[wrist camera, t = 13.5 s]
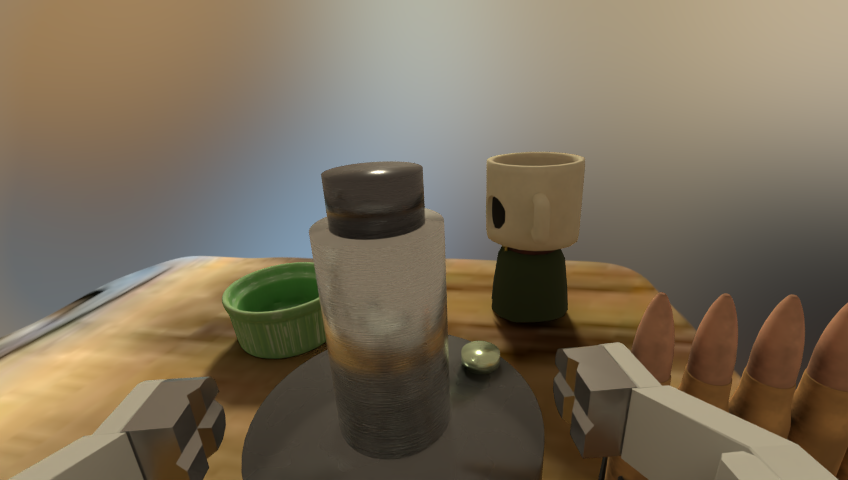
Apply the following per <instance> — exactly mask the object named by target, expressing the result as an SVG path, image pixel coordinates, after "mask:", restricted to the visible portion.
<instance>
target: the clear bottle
mask: <svg viewBox="0 0 848 480" xmlns="http://www.w3.org/2000/svg"><path fill="white" fill-rule="evenodd" d="M321 177H322V183H323V191H324V198H325V205H326V213H327V217H325V218H323V219H321V220H319V221H317V222H316V223H315V224H313V225H312V226H311V228H310V230H309V235H310V242H311V248H312V254H313V261H314V267H315V273H316V280H317V286H318V292H319V299H320V305H321V311H322V318H323V324H324V330H325V337H326V343H327V350H328V356H329V362H330V369H331V375H332V381H333V388H334V394H335V400H336V407H337V413H338V419H339V426H340V430H341V434H342V436H343V438H344V439H345V441H346V442H347V443H348V444H349V445H350V446H351V447H352V448H353V449H354V450H356V451H357V452H359V453H361V454H363V455H366V456H369V457H372V458H377V459H400V458H405V457H409V456H412V455H415V454H418V453H420V452H422V451H424V450H426V449H427V448H429V447H430V446H432V445H433V444H434V443H435V442H436V441H438V439H439V438H440V437H441V436H442V435H443V433H444V432H445V430H446V428H447V426H448V424H449V420H450V414H451V410H450V381H449V352H448V323H447V294H446V265H445V239H444V238H445V236H444V219H443V217H442V216H441V215H440V214H439V213H437V212H435V211H432V210H429V209H426V208H425V206H424V187H423V168H422V166H421V165H419V164H415V163H409V162H370V163H359V164H351V165H346V166H341V167H336V168H332V169H329V170H326V171H324V172H323V173H322V174H321Z"/></svg>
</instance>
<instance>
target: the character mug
mask: <svg viewBox="0 0 848 480" xmlns="http://www.w3.org/2000/svg"><path fill="white" fill-rule="evenodd" d="M584 171H585V158H584V157H581V156H578V155H573V154H566V153H555V152H525V153H512V154H504V155H498V156H494V157H491V158H489V159H487V197H486V227H487V228H486V230H487V235H488V238H489V239H491V240H492V241H494V242H496V243H498V244H501V245H502V247H501V249H500V251H499V252H498V257H497V263H496V269H495V275H494V281H493V291H492V299H493V300H492V309H493V310H494V311H495V312H496V313H497V314H498V315H499V316H500V317H502V318H505V319H507V320H510V321H512V322H541V321H551V320H554V319H557V318H560V317H563V316H564V314H565V313H566V311H567V310H568V301H567V279H566V266H565V257H564V255H563V253H562V251H561V248H566V247H569V246H571V245H572V244H574V243H575V242H577V240H578V236H579V227H580V217H581V205H582V193H583V183H584Z"/></svg>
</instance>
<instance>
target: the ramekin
mask: <svg viewBox="0 0 848 480" xmlns="http://www.w3.org/2000/svg"><path fill="white" fill-rule="evenodd" d="M222 303H223V306H224V308H225V310H226V311H227V313H228V314H229V316H230V318H231V321H232V324H233V327H234V330H235V333H236V336H237V339H238V341H239V344H240V345H241V347H242V349H244V350H245V351H246V352H247V353H249V354H251V355H253V356H255V357H260V358H268V359H279V358H288V357H293V356H297V355H300V354H303V353H306V352H308V351H311V350H313V349H315V348H317V347H319V346H320V345H322V344H324V343H325V342H326V337H325V330H324V324H323V318H322V311H321V305H320V299H319V292H318V286H317V280H316V273H315V267H314V263H311V262H297V263H287V264H280V265H276V266H271V267H268V268H264V269H261V270H258V271H255V272H253V273H250V274H248V275H246V276H244V277H242V278H240V279H238V280H237V281H235V282H234V283H232V284H231V285H230V286H229V287H228V288H227V289H226V290H225V292H224V294H223V296H222Z"/></svg>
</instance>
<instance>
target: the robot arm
mask: <svg viewBox="0 0 848 480" xmlns="http://www.w3.org/2000/svg"><path fill="white" fill-rule="evenodd" d="M555 364H556V366H557V367H558V369H559V371H560V372H559V373H558V374H557V375H556V377H555V378H554V386H553V391H554V398H555V403H556V406H557V409H558V412H559V414H560V416H561V418H562V419H563V420H564V421H566V422H567V423H569V424H570V425H571V430H570V435H571V437H572V439H573V441H574V443H575V444H576V446H577V448H578V450H579V452H580V454H581V456H582V458H598V457H613V456H621V458H622V459H623V460H624V461H625V462H627V463H628V464H629V465H631V466H632V467H633V468H634V469H636V470H637V471H638V472H639V473H641V474H642V475H643V476H644V477H646V478H647V479H648V480H838V479H837V478H836V477H835V476H834V475H832V474H831V473H830V472H829V471H828V470H827V469H825V468H824V467H823V466H822V465H821V464H820V463H819V462H817V461H816V460H815V459H814V458H813V457H812V456H810V455H809V454H808V453H807V452H806V451H805V450H804V449H802V448H801V447H800V446H799V445H798V444H796V443H793V442H791V441H789V440H787V439H785V438H782V437H780V436H778V435H776V434H774V433H772V432H769V431H767V430H765V429H763V428H761V427H759V426H756V425H754V424H752V423H750V422H748V421H745V420H743V419H741V418H739V417H737V416H735V415H732V414H730V413H728V412H726V411H724V410H722V409H719V408H717V407H715V406H713V405H711V404H708V403H706V402H704V401H702V400H700V399H698V398H695V397H693V396H691V395H689V394H687V393H685V392H682V391H680V390H678V389H676V388H674V387H671V386H669V385H666V386H662V385H661V384H660V383H659V382H658V381H657V380H656V379H655V378H654V376H653V375H652V374H651V373H650V372H649V371H648V370H647V369H646V368H645V367H644V366H643V365H642V364H641V363H640V361H639V360H638V359H637V358H636V357H635V356H634V355H633V354H632V353H631V352H630V351H629V350H628V349H627V348H626V347H625V345H623V344H621V343H619V342H618V343H609V344H600V345H596V346H585V347H574V348H562V349H558V350H557V353H556V358H555ZM218 392H219V390H218V387H217V384H216V381H215V379H213V378H212V377H195V378H178V379H167V380H164V379H163V380H150V381H144V382H141V383H139V384H137V386H136V387H135V388H134V389H133V390H132V391H131V392H130V393H129V394H128V396H127V397H126V398H125V399H124V400H123V401H122V402H121V403H120V404H119V406H118V407H117V408H116V409H115V410H114V411H113V412H112V413H111V414H110V415H109V417H108V418H107V419H106V420H105V421H104V422H103V423H102V424H101V425H100V427H99V428H98V429H97V430H96V431H95V432H94V433H93V434H92V435H90V436H83V437H81V438H80V439H78V440H76V441H74V442H73V443H71V444H69V445H67V446H66V447H64V448H62V449H60V450H59V451H57V452H55V453H54V454H52V455H50V456H48V457H47V458H45V459H43V460H41V461H40V462H38V463H36V464H34V465H33V466H31V467H29V468H27V469H26V470H24V471H22V472H20V473H19V474H17V475H15V476H14V477H12V478H10V479H8V480H203V478H204V476H205V474H206V473H207V471H208V469H209V466H208V462H207V458H209V457H210V456H211V455H212V454H214V453H215V452H216V451H217V450H218V448H219V446H220V444H221V442H222V440H223V436H224V431H225V426H226V423H225V413H224V409H223V406H222V405H220V404H219V403H218V402H217V401H216V400H214V399H215V397H216V395H217V393H218Z"/></svg>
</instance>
